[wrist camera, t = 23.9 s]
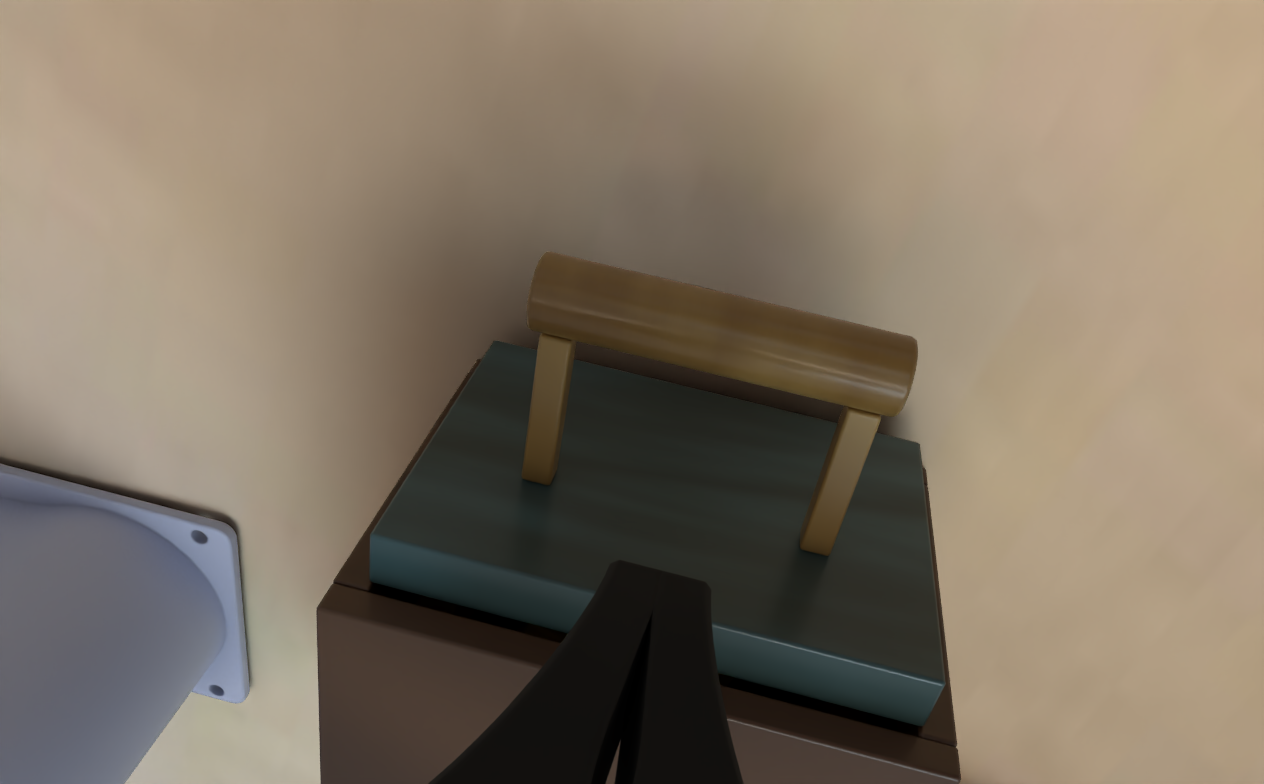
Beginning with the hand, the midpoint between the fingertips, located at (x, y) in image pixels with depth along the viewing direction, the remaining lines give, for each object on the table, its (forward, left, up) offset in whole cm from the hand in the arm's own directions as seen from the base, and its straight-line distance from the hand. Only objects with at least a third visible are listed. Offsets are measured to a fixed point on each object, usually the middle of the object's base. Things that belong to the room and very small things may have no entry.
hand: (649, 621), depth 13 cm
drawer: (0, -6, -10) cm, 11 cm away
